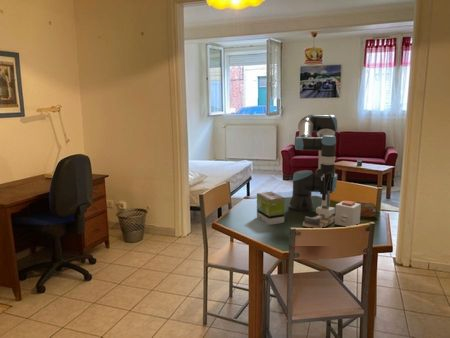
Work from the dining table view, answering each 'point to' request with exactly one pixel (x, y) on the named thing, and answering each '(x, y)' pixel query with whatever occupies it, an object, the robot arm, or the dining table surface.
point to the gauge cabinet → (347, 214)
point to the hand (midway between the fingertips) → (325, 204)
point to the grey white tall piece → (326, 208)
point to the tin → (367, 209)
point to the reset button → (348, 203)
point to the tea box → (270, 207)
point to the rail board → (322, 223)
